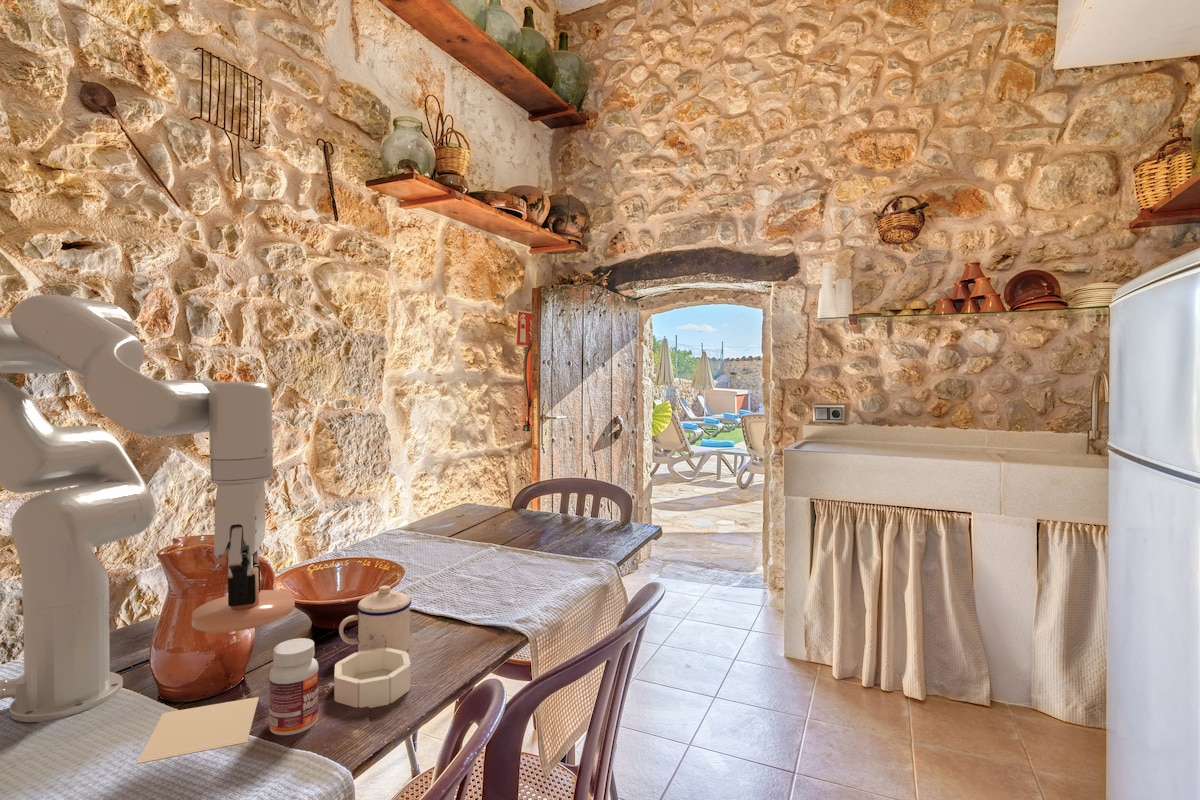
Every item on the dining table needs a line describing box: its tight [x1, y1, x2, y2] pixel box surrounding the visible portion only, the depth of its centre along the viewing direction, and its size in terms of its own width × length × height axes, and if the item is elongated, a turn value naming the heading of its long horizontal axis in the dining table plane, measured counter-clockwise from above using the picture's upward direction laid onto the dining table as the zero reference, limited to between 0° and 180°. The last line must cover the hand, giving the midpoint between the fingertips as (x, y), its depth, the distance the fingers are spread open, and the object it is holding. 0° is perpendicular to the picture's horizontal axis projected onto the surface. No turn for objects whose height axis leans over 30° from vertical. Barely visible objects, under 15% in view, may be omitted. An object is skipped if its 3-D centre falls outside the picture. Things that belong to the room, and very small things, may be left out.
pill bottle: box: [268, 637, 320, 736], centre depth 83 cm, size 6×6×11 cm
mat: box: [136, 696, 260, 765], centre depth 82 cm, size 12×12×1 cm
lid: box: [191, 567, 296, 634], centre depth 83 cm, size 12×12×6 cm
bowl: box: [333, 647, 412, 709], centre depth 93 cm, size 11×11×4 cm
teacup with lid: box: [338, 585, 412, 653], centre depth 105 cm, size 12×9×12 cm
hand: (245, 598), depth 84 cm, fingers closed on lid, 3 cm apart
